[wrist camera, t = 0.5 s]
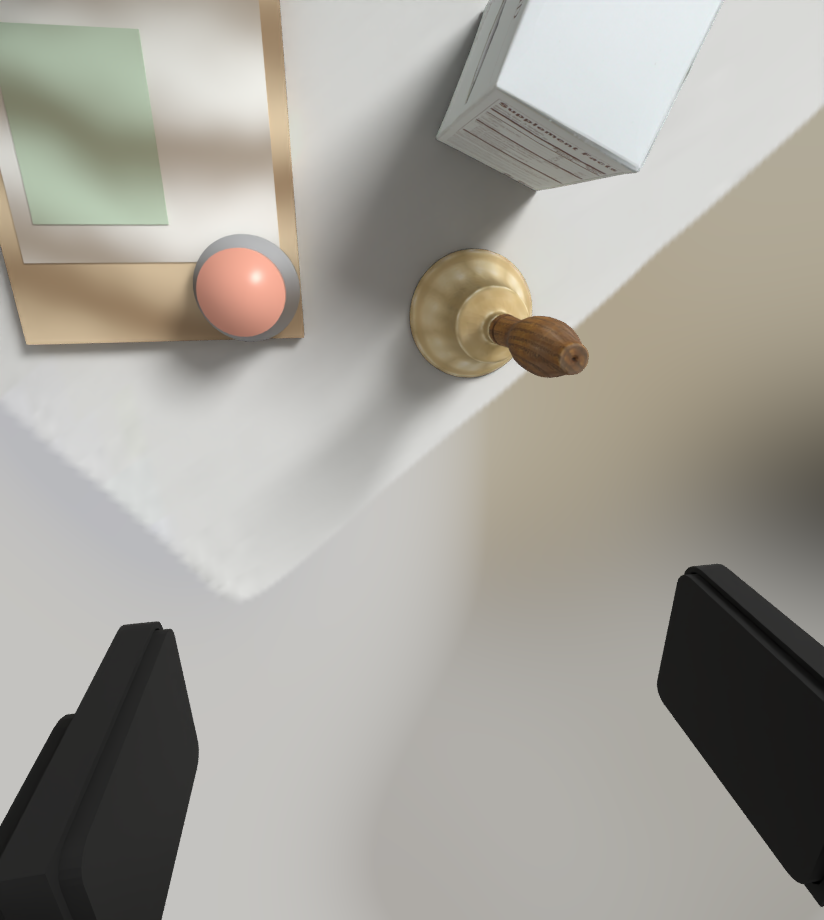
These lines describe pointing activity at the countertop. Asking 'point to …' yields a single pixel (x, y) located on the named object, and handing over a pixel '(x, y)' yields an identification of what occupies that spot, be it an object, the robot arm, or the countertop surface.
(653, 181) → the countertop surface
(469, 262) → the hand bell
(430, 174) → the countertop surface
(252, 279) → the button
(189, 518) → the countertop surface
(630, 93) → the supplement box
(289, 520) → the countertop surface
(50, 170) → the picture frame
